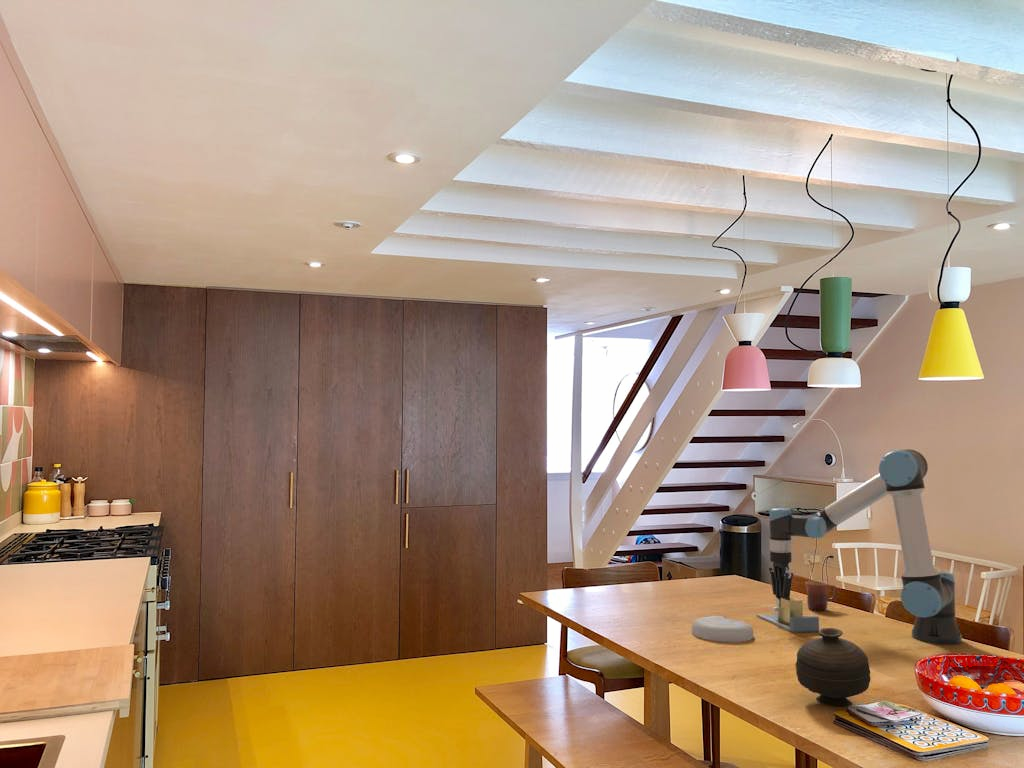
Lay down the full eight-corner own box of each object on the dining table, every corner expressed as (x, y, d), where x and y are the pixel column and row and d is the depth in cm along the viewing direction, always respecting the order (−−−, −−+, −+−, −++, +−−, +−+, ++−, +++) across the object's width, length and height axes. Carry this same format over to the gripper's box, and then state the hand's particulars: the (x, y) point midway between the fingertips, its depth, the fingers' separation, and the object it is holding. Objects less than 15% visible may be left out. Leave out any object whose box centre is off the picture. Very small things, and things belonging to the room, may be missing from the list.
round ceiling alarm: (672, 632, 291) (672, 615, 292) (737, 629, 297) (737, 611, 297) (705, 651, 267) (705, 632, 267) (775, 647, 273) (774, 628, 273)
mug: (808, 611, 323) (808, 585, 323) (803, 606, 332) (802, 580, 332) (840, 612, 322) (840, 585, 322) (834, 607, 330) (833, 581, 331)
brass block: (803, 626, 293) (802, 600, 293) (790, 626, 292) (789, 600, 292) (793, 622, 299) (793, 597, 299) (781, 623, 298) (780, 597, 298)
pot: (801, 718, 205) (799, 636, 206) (791, 695, 222) (790, 620, 223) (878, 724, 201) (876, 640, 202) (863, 700, 218) (861, 623, 219)
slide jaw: (798, 621, 299) (798, 607, 300) (775, 623, 297) (775, 608, 298) (795, 620, 301) (795, 606, 301) (772, 621, 299) (772, 607, 300)
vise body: (819, 634, 287) (818, 616, 288) (793, 636, 285) (792, 618, 286) (780, 618, 312) (780, 601, 312) (756, 619, 310) (756, 603, 310)
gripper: (799, 553, 298) (800, 620, 297) (780, 548, 310) (781, 611, 309) (780, 554, 296) (781, 621, 295) (762, 548, 309) (763, 612, 308)
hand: (781, 616), depth 302 cm, fingers closed
